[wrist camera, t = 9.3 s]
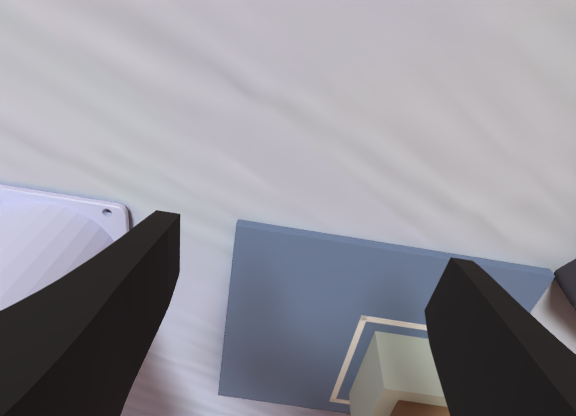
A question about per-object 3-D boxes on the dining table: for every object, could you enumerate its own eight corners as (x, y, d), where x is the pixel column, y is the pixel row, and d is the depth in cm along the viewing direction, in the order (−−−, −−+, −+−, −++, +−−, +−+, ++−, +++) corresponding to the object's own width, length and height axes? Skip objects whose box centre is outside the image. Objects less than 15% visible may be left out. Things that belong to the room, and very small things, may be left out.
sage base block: (348, 393, 29) (353, 451, 26) (375, 330, 26) (384, 388, 22) (441, 407, 30) (457, 465, 26) (480, 346, 26) (505, 406, 23)
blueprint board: (219, 387, 31) (217, 395, 30) (237, 219, 22) (235, 226, 22) (446, 419, 32) (448, 428, 31) (549, 269, 23) (555, 277, 22)
